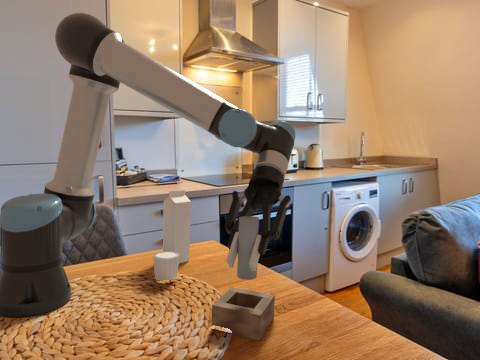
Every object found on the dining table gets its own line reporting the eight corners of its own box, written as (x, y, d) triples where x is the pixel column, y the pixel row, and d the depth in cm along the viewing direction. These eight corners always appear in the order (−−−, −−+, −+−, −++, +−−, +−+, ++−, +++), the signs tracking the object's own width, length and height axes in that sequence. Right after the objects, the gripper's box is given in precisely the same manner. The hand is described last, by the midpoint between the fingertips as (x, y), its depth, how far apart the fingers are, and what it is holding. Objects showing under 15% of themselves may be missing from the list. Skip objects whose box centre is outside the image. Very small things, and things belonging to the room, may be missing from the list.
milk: (162, 260, 111) (163, 190, 109) (178, 256, 116) (179, 188, 114) (174, 265, 107) (175, 192, 105) (190, 261, 112) (191, 191, 110)
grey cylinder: (234, 277, 72) (236, 218, 71) (241, 271, 75) (243, 215, 74) (253, 281, 70) (255, 221, 69) (259, 274, 74) (261, 217, 73)
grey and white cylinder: (173, 286, 91) (173, 259, 91) (148, 283, 93) (148, 257, 92) (182, 277, 98) (183, 252, 97) (159, 274, 99) (159, 249, 99)
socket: (211, 329, 71) (212, 305, 70) (230, 308, 80) (231, 287, 80) (259, 340, 67) (260, 315, 67) (273, 317, 77) (274, 295, 76)
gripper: (306, 187, 83) (286, 281, 69) (238, 182, 89) (206, 268, 75) (303, 165, 77) (280, 262, 63) (230, 161, 83) (195, 249, 69)
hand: (240, 265), depth 69 cm, fingers closed on grey cylinder, 4 cm apart
